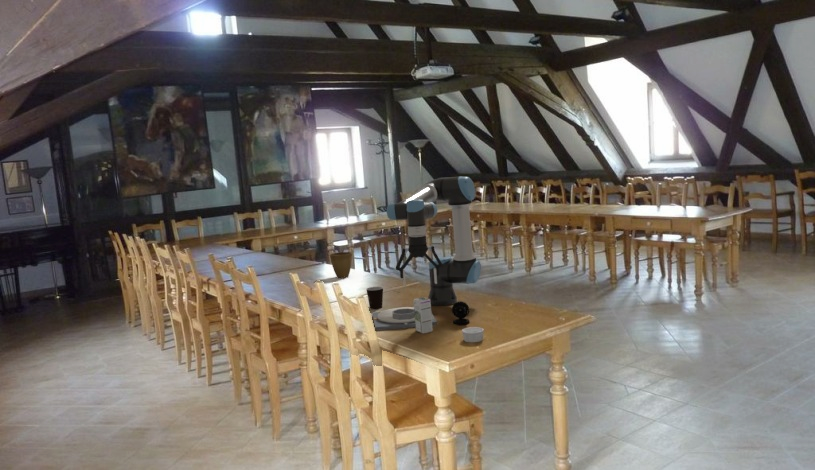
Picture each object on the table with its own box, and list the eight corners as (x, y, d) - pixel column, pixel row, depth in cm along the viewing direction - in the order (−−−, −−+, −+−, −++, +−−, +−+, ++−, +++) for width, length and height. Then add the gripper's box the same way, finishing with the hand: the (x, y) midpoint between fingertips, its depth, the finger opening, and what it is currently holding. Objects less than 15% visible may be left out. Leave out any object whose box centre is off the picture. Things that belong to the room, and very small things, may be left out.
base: (429, 310, 312) (428, 306, 311) (437, 325, 284) (437, 321, 284) (372, 315, 309) (372, 311, 309) (375, 330, 281) (374, 326, 281)
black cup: (382, 309, 321) (380, 290, 319) (365, 309, 322) (364, 290, 321) (387, 303, 332) (386, 285, 331) (371, 304, 334) (370, 285, 332)
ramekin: (472, 344, 252) (471, 334, 251) (458, 340, 259) (457, 330, 259) (488, 339, 257) (488, 329, 257) (474, 335, 264) (473, 325, 264)
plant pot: (357, 277, 415) (356, 253, 413) (337, 280, 407) (335, 256, 405) (348, 274, 428) (346, 250, 426) (328, 277, 420) (326, 253, 418)
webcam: (452, 325, 282) (450, 303, 280) (453, 321, 289) (452, 299, 288) (469, 325, 281) (468, 303, 279) (470, 320, 288) (469, 299, 287)
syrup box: (433, 331, 274) (431, 298, 273) (421, 333, 271) (419, 301, 270) (426, 328, 279) (424, 296, 277) (414, 331, 276) (412, 298, 275)
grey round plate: (425, 308, 309) (424, 300, 309) (432, 320, 285) (431, 311, 285) (376, 312, 307) (375, 304, 307) (379, 325, 283) (378, 316, 283)
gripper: (388, 238, 266) (392, 288, 268) (447, 234, 268) (450, 283, 270) (387, 236, 273) (390, 285, 276) (444, 232, 275) (447, 280, 278)
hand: (420, 284), depth 273 cm, fingers open, 13 cm apart
